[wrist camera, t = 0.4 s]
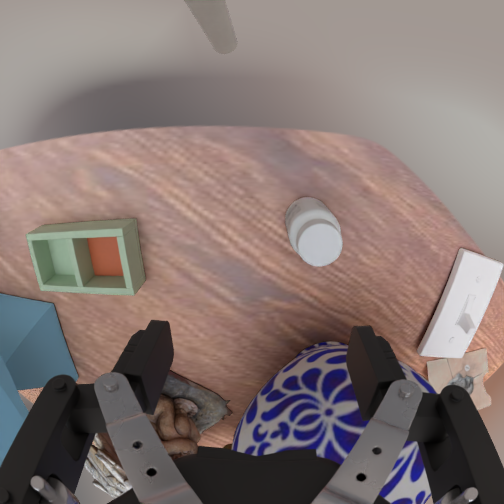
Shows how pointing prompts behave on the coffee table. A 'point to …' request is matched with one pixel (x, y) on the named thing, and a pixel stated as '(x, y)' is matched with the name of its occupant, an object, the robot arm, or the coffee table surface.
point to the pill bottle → (313, 231)
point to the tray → (88, 257)
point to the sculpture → (462, 375)
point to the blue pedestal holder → (27, 358)
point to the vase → (324, 418)
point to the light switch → (461, 305)
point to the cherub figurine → (161, 430)
